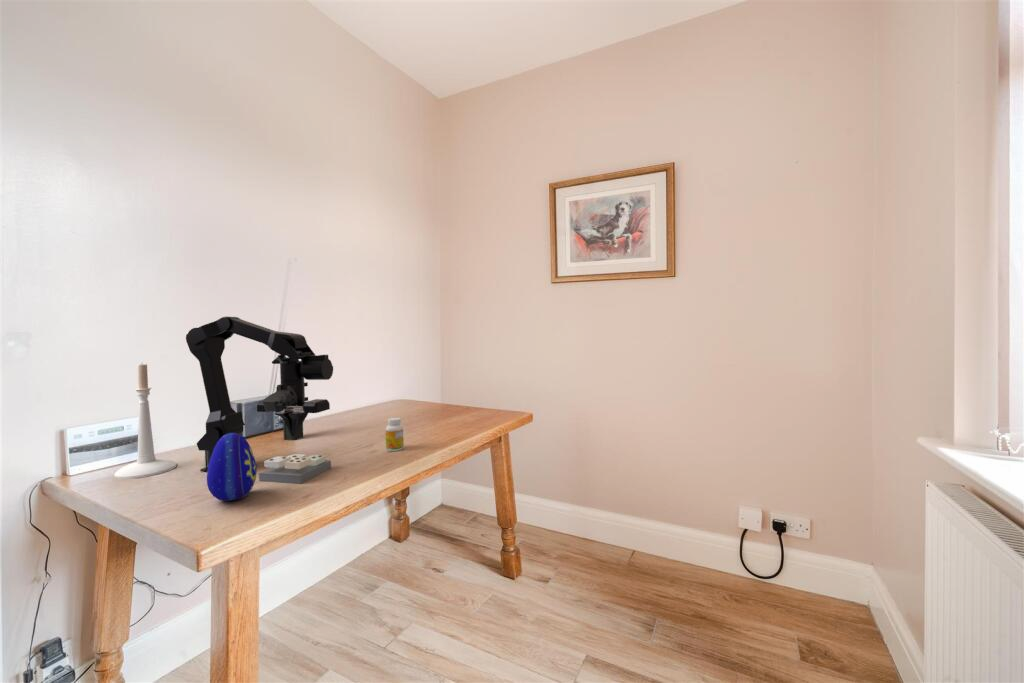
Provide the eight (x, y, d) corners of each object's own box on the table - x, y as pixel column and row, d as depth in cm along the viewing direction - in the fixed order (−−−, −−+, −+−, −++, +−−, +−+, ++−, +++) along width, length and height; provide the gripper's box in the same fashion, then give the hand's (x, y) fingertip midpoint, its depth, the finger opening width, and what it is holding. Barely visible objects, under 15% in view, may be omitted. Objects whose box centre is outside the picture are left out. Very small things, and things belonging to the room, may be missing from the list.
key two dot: (264, 467, 105) (264, 460, 105) (277, 461, 109) (276, 455, 109) (278, 467, 104) (278, 461, 104) (290, 462, 108) (290, 456, 108)
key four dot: (284, 468, 104) (284, 461, 104) (296, 462, 108) (296, 456, 108) (299, 469, 103) (299, 462, 103) (310, 463, 107) (310, 457, 107)
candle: (282, 439, 145) (279, 368, 144) (292, 436, 150) (290, 367, 149) (295, 440, 144) (293, 369, 143) (304, 436, 149) (302, 367, 148)
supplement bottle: (382, 449, 131) (382, 419, 131) (397, 445, 135) (397, 416, 135) (391, 452, 127) (391, 421, 127) (406, 448, 131) (406, 418, 131)
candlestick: (160, 476, 109) (156, 363, 108) (101, 481, 106) (96, 365, 105) (185, 461, 122) (181, 360, 121) (133, 465, 118) (129, 361, 118)
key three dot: (301, 465, 110) (301, 459, 110) (312, 460, 114) (312, 454, 114) (315, 466, 109) (315, 459, 109) (325, 461, 113) (325, 455, 113)
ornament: (250, 504, 90) (248, 436, 90) (200, 511, 87) (197, 441, 86) (261, 486, 100) (259, 426, 100) (217, 492, 97) (215, 429, 97)
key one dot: (282, 464, 111) (282, 458, 111) (293, 459, 115) (293, 453, 115) (295, 464, 110) (295, 458, 110) (306, 460, 114) (306, 454, 114)
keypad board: (259, 480, 105) (258, 473, 105) (293, 465, 116) (293, 458, 116) (300, 483, 102) (300, 475, 102) (330, 467, 114) (330, 460, 114)
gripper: (238, 383, 106) (240, 443, 107) (301, 384, 102) (303, 446, 103) (271, 378, 117) (273, 432, 117) (330, 378, 113) (331, 435, 114)
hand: (294, 436), depth 113 cm, fingers closed
